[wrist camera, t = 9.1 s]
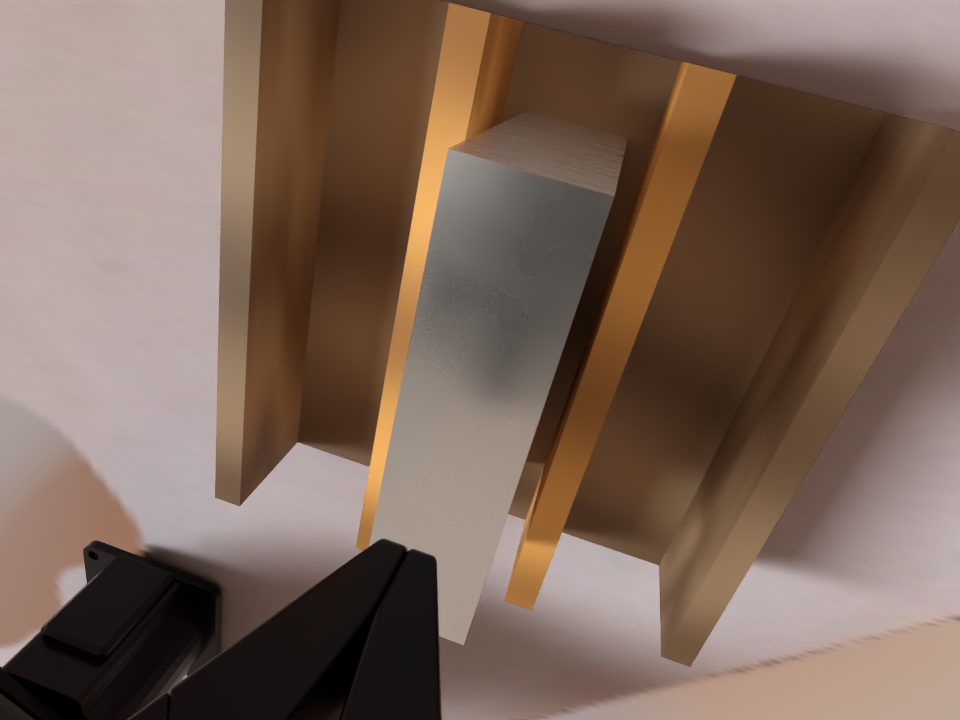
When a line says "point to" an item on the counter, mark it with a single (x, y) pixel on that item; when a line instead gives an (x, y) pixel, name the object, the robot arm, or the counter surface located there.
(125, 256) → the counter surface
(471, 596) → the aluminium panel
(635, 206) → the walnut rack
